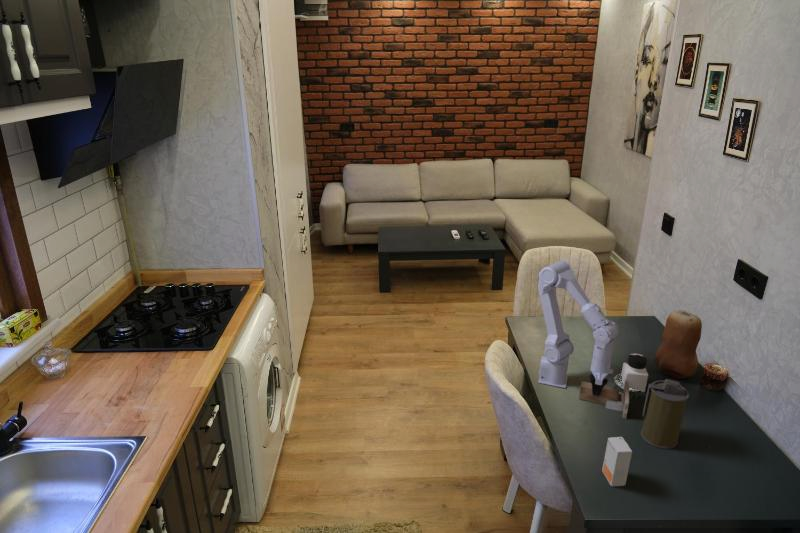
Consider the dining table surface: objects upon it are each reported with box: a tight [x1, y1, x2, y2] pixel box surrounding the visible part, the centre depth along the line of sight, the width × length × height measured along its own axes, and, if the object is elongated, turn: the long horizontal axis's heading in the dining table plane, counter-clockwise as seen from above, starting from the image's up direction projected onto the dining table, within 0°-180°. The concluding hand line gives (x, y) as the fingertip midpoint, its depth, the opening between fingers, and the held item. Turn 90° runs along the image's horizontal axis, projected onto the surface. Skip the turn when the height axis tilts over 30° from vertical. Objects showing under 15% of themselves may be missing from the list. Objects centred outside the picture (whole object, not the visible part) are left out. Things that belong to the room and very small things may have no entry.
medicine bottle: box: [620, 353, 649, 393], centre depth 188 cm, size 7×7×12 cm
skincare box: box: [601, 436, 633, 487], centre depth 147 cm, size 6×4×12 cm
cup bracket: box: [605, 391, 624, 412], centre depth 180 cm, size 5×7×3 cm
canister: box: [640, 378, 690, 450], centre depth 161 cm, size 11×10×20 cm
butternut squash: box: [653, 309, 703, 380], centre depth 193 cm, size 14×13×25 cm
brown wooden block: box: [578, 380, 620, 406], centre depth 181 cm, size 12×3×5 cm, turn 69°
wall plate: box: [622, 380, 630, 420], centre depth 178 cm, size 1×14×6 cm, turn 158°
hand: (596, 391), depth 181 cm, fingers closed on brown wooden block, 3 cm apart
